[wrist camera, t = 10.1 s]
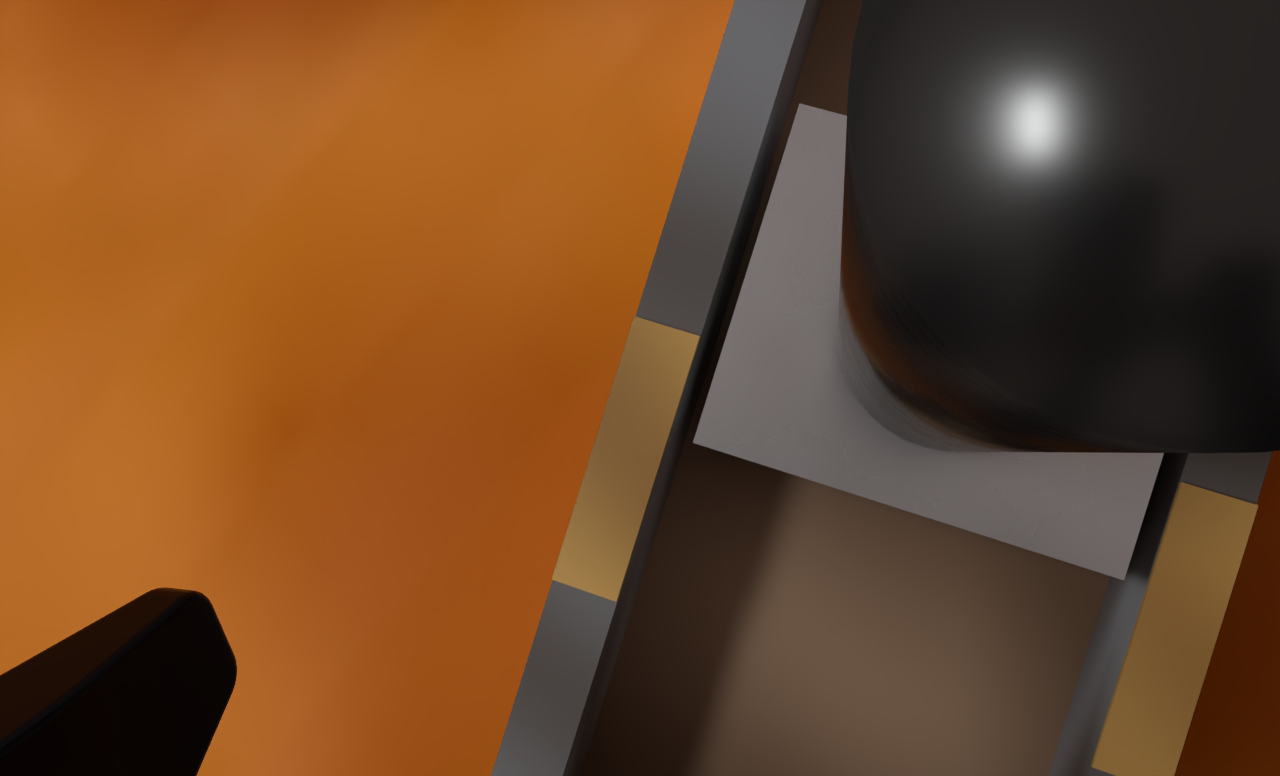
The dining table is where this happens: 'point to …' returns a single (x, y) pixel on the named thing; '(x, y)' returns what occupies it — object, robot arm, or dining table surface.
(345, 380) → the dining table surface
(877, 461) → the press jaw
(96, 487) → the dining table surface
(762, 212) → the press base
